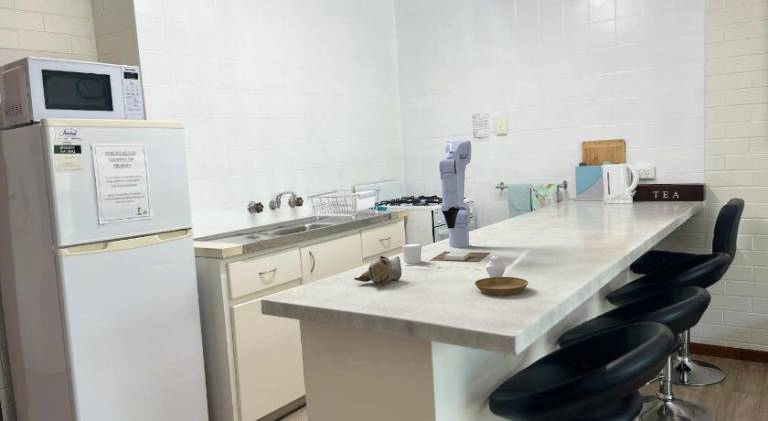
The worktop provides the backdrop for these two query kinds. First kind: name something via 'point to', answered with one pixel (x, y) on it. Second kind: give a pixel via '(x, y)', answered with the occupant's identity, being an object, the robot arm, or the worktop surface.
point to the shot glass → (412, 253)
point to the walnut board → (473, 258)
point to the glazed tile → (457, 256)
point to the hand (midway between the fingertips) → (451, 228)
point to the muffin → (495, 267)
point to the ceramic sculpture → (382, 271)
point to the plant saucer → (501, 285)
